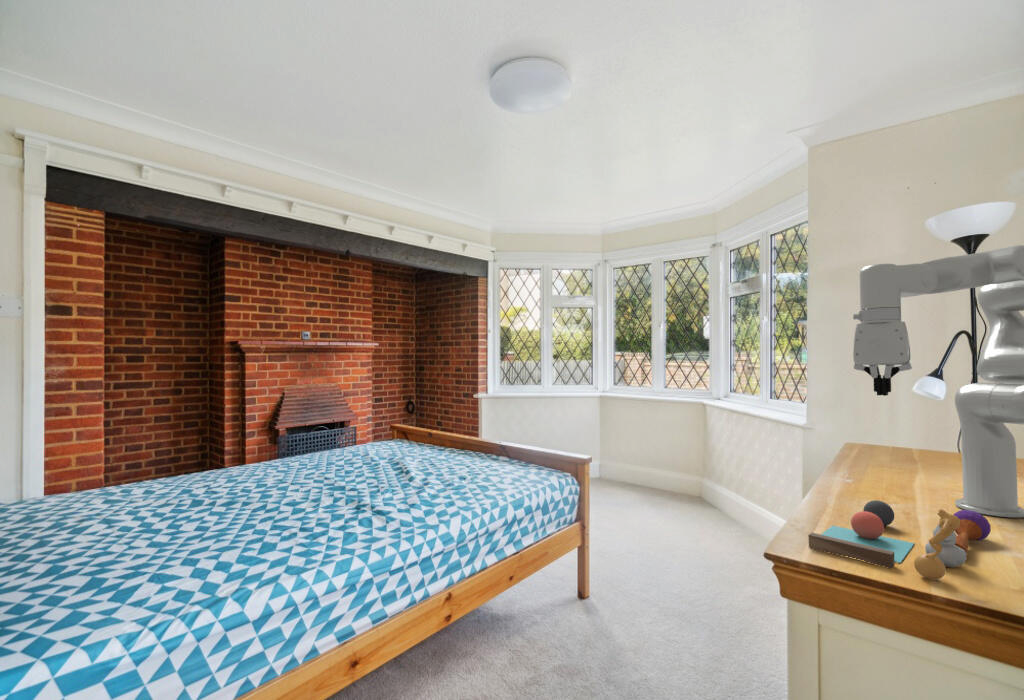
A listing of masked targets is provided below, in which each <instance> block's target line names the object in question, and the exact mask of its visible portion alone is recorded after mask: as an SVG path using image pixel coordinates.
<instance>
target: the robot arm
mask: <svg viewBox="0 0 1024 700" xmlns="http://www.w3.org/2000/svg"><path fill="white" fill-rule="evenodd" d="M979 287H981V288H980V289H979V291H978V294H977V301H978V304H979V306H980V308H981V310H982V312H983V313H984V316H985V318H986V320H987V323H988V326H989V331H988V336H987V339H986V341H985V343H984V345H983V348H982V351H981V353H980V356H979V358H978V361H977V364H976V373H977V375H978V376H979V377H980V379H982V380H984V381H986V382H975V383H969V384H965V385H962V386H960V388H959V389H957V391H956V392H955V395H954V404H955V409H956V412H957V416H958V419H959V426H960V433H961V435H960V436H961V462H962V466H961V467H962V495H963V496H962V497H963V498H957V499H955V501H954V504H955V506H956V507H958V508H959V509H961V510H970V511H975V512H977V513H979V514H981V515H987V516H994V517H1001V518H1009V519H1011V518H1012V519H1013V518H1014V519H1017V518H1018V519H1020V518H1021V519H1022V518H1024V508H1023V507H1022V506H1021V507H1020V506H1019V502H1018V500H1019V497H1018V474H1017V473H1018V472H1017V471H1018V469H1017V445H1016V444H1017V443H1016V440H1015V437H1014V436H1013V433H1012V432H1011V431H1010V429H1009V428H1008V427H1007V426H1006V424H1013V425H1023V426H1024V316H1023V314H1022V313H1021V312H1024V245H1023V244H1022V245H1019V244H1018V245H1015V246H1014V245H1013V246H1008V247H1004V248H997V249H993V250H988V251H981V252H976V253H975V252H974V253H970V254H964V255H963V254H962V255H957V256H956V255H955V256H949V257H943V258H937V259H933V260H930V261H926V262H921V263H911V264H898V265H897V264H894V263H878V264H877V263H876V264H871V265H868V266H864V267H862V269H861V270H860V272H859V295H860V296H859V298H860V300H859V302H860V310H859V312H858V313H855V314H853V316H852V317H853V318H852V319H853V320H857V321H860V323H856V325H855V330H854V339H853V353H852V354H853V356H852V358H853V362H854V365H853V369H854V370H857V371H861V372H865V373H867V374H868V375H869V376H870V377H871V378H872V379H873V392H874V393H875V392H876V395H877V396H884V397H885V396H889V393H891V392H892V378H893V377H894V376H895V375H896V374H898V373H900V372H905V371H911V370H912V369H913V366H912V363H911V347H910V337H909V333H908V329H907V324H906V322H905V321H902V300H901V299H902V298H909V297H916V296H921V295H936V294H944V293H950V292H956V291H962V290H968V289H974V288H979ZM881 365H882V366H885V368H884V371H883V372H884V373H883V375H881V372H880V368H879V366H881Z"/></svg>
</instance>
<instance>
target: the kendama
mask: <svg viewBox="0 0 1024 700" xmlns="http://www.w3.org/2000/svg"><path fill="white" fill-rule="evenodd" d="M953 515H954V516H956V517H958V518H959V519H960V525H959V527H958V528H957V529H956V530H955V531H954V532H955V534H956V543H955V546H958V547H959V548H961V549H963V550H964V551H965V552H966V554H967V556H966V559H967V558H968V556H969V554H968V553H969V541H983V540H985V539H987V538H988V536H989V535H990V533H991V524H990V522H989V520H988V519H987V518H986V517H985V516H984V515H983V514H981V513H977V512H975V511H970V510H965V509H961V510H958V511H956V512H954V514H953Z"/></svg>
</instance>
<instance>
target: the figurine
mask: <svg viewBox="0 0 1024 700" xmlns="http://www.w3.org/2000/svg"><path fill="white" fill-rule="evenodd" d="M936 514H937V516H938V517H940V519H939V522H938V525H940V531H939V532H938V533H937V534H936V535H935V536H934V537H933V536H932V537H931V538H929V539H928V542H929V544H930V545H931V546H932V547H933V549H934V550H936V552H934V553H929V554H926V553H922V554H919V555H917V556H916V557H915V559H914V561H913V565H914V568H915V570H916V572H917V573H918V574H919V575H920V576H922V577H923V578H925V579H927V580H934V581H936V580H940V579H942V578H944V576H945V574H946V566H944V564H943V562H942V561H941V560H940V559H939V558H937V555H938V554H939V553H940V552H941V551H942V545H941V544H939V542H942V541H943V540H944V539H946V538H947V537H948V536H950V535H951V534H952V532H953V531H954V532H955V530H956V529H957V528H958V527H959V525H960V519H959V518H958V517H956V516H954V514H950V513H949V512H947V511H945V510H944V509H942V508H941V509H938V512H937V513H936ZM934 544H935V545H934Z"/></svg>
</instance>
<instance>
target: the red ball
mask: <svg viewBox="0 0 1024 700" xmlns="http://www.w3.org/2000/svg"><path fill="white" fill-rule="evenodd" d="M850 525H851V529H852V530H854V531H855V533H856V534H858V535H859V536H860V537H862V538H865V539H877V538H879V537H880V536H883V534H884V532H885V526H884V525H883V522H882V521H881V519H880V518H879V517H878V516H877V515H875V514H873V513H871V512H867V511H858V512H856V513H854V514H853V516H851V519H850Z"/></svg>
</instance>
